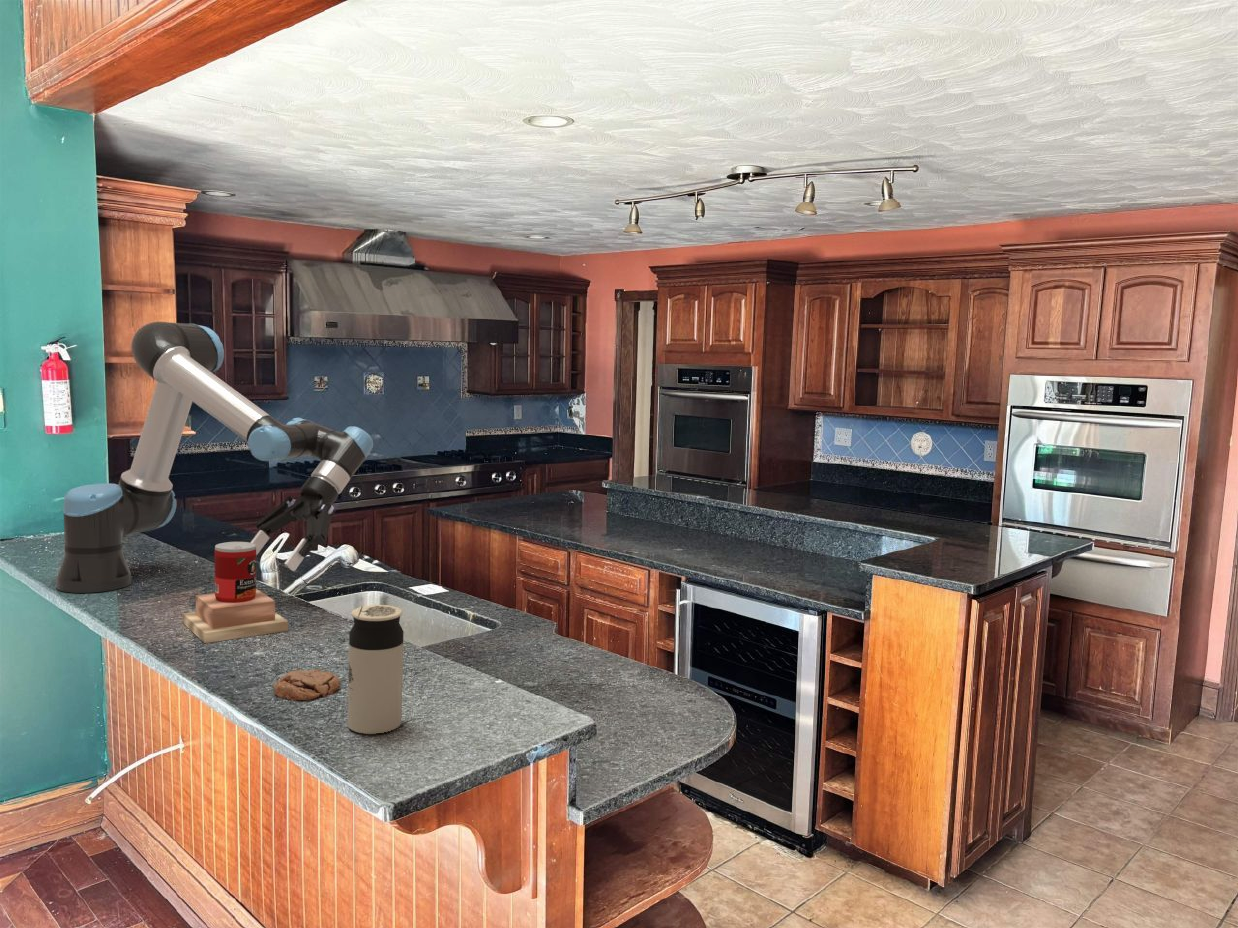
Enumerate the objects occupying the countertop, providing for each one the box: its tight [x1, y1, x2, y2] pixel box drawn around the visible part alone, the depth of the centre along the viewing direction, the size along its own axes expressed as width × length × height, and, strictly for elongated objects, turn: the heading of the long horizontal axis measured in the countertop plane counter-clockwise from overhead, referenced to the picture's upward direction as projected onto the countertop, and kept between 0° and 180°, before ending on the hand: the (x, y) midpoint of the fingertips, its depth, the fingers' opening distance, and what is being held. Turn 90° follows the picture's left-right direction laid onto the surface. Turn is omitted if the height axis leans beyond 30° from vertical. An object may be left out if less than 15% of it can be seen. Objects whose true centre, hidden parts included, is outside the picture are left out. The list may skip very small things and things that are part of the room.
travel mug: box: [347, 604, 405, 735], centre depth 136 cm, size 8×8×18 cm
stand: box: [182, 588, 289, 644], centre depth 183 cm, size 16×16×6 cm
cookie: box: [273, 669, 341, 701], centre depth 150 cm, size 10×11×3 cm
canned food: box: [214, 541, 257, 603], centre depth 182 cm, size 8×8×11 cm
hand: (267, 562), depth 188 cm, fingers open, 13 cm apart
